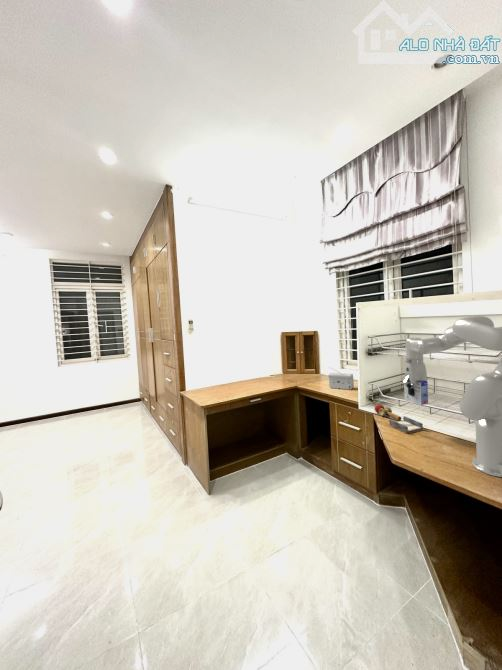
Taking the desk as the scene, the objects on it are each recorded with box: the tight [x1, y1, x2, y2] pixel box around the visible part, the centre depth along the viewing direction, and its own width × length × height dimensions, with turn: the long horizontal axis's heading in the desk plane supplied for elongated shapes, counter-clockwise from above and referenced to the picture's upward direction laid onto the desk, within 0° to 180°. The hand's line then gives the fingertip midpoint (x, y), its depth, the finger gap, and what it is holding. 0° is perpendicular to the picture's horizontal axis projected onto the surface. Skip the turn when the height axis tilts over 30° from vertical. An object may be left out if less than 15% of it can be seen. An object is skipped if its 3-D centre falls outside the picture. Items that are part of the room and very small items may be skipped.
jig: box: [388, 415, 424, 435], centre depth 147 cm, size 12×11×4 cm
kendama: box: [374, 403, 402, 422], centre depth 165 cm, size 8×6×18 cm
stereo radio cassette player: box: [327, 366, 355, 390], centre depth 233 cm, size 21×8×20 cm, turn 53°
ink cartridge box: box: [403, 379, 429, 406], centre depth 137 cm, size 10×6×14 cm, turn 22°
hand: (416, 393), depth 138 cm, fingers closed on ink cartridge box, 5 cm apart
